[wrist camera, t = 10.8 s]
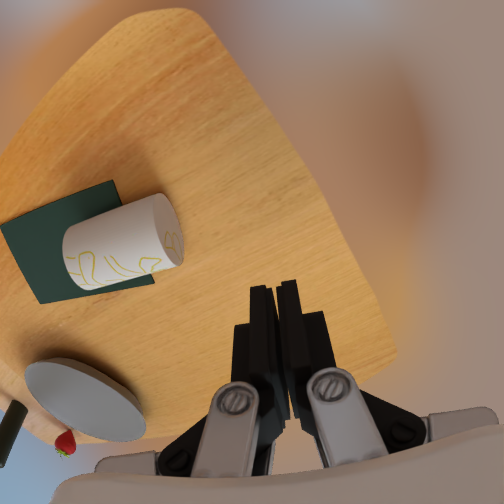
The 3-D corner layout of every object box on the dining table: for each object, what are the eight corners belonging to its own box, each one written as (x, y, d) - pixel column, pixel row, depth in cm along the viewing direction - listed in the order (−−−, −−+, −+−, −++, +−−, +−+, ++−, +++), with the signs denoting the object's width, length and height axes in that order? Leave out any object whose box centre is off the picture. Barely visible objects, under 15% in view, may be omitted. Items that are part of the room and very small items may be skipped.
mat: (0, 225, 38) (-1, 226, 37) (112, 179, 35) (111, 180, 35) (41, 303, 45) (40, 304, 45) (154, 282, 42) (154, 283, 42)
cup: (187, 275, 36) (102, 298, 37) (180, 215, 39) (102, 241, 40) (154, 247, 28) (60, 276, 30) (152, 178, 32) (65, 213, 33)
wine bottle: (23, 412, 67) (-9, 491, 40) (9, 400, 64) (-26, 479, 38) (30, 411, 65) (-3, 493, 39) (16, 398, 63) (-22, 481, 36)
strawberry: (85, 435, 68) (75, 464, 59) (72, 436, 70) (62, 463, 61) (69, 424, 66) (58, 453, 57) (56, 425, 67) (46, 453, 59)
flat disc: (112, 435, 66) (108, 449, 62) (20, 373, 56) (13, 386, 52) (177, 407, 57) (173, 425, 53) (58, 323, 47) (47, 340, 43)
